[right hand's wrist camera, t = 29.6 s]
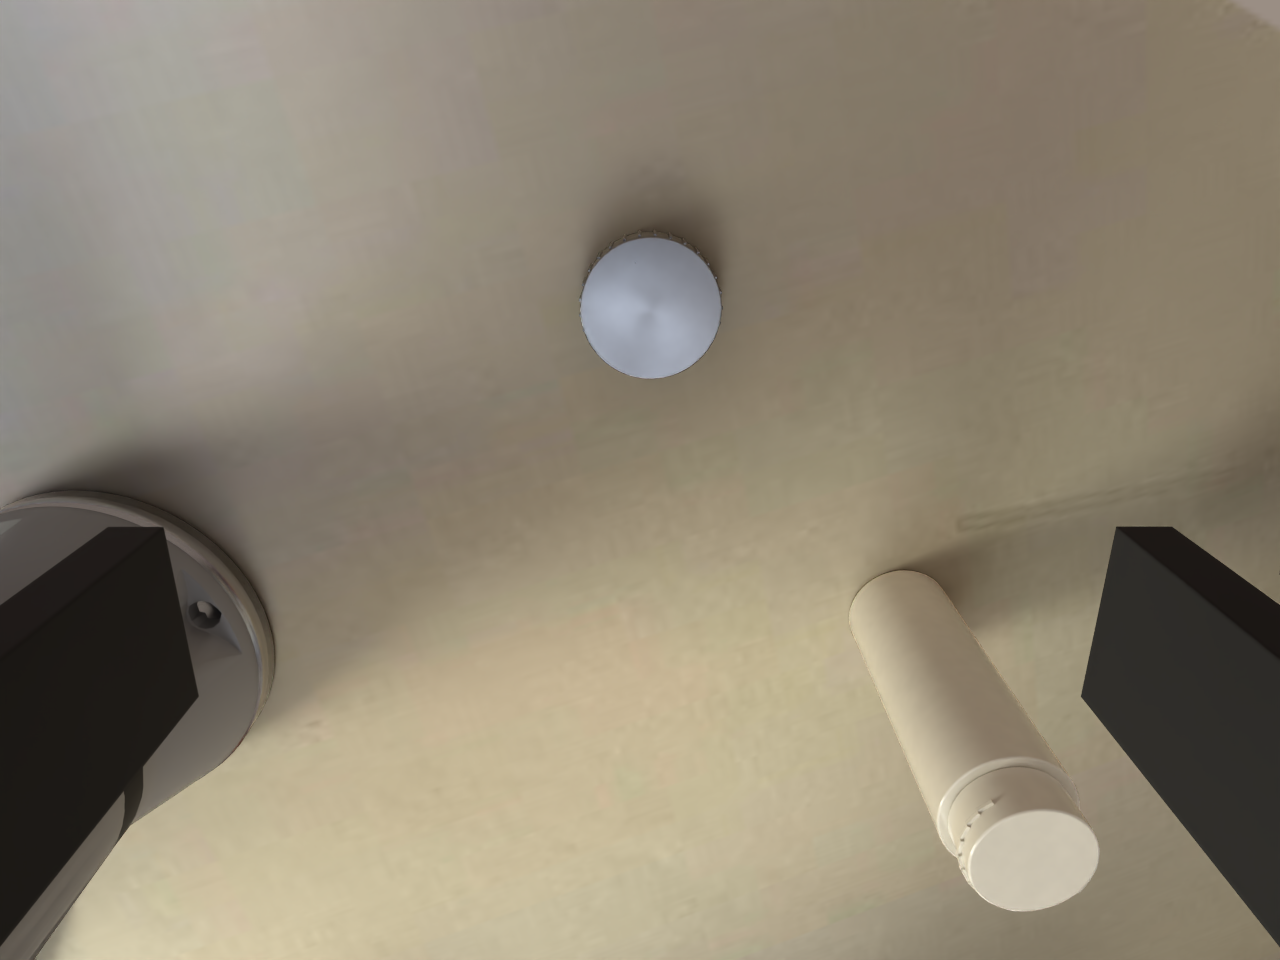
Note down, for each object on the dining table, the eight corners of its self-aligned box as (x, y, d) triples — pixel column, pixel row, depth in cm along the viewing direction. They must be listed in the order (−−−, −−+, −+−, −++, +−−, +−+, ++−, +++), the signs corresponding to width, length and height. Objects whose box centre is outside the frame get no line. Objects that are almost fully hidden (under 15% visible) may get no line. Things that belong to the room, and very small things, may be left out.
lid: (746, 308, 37) (753, 318, 35) (642, 394, 38) (642, 409, 36) (659, 199, 35) (660, 203, 33) (553, 292, 37) (548, 301, 34)
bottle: (829, 629, 42) (926, 882, 28) (888, 552, 41) (1023, 777, 26) (908, 672, 43) (1043, 940, 29) (969, 599, 42) (1143, 841, 27)
